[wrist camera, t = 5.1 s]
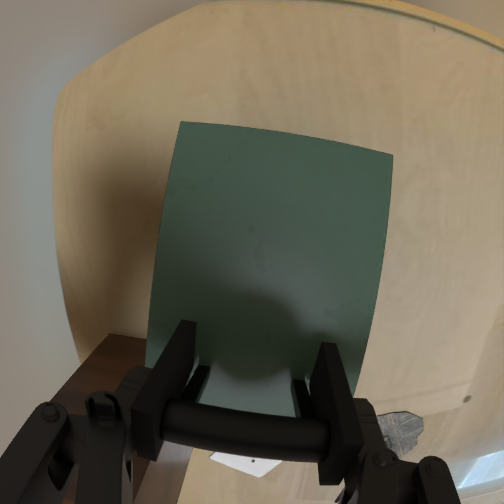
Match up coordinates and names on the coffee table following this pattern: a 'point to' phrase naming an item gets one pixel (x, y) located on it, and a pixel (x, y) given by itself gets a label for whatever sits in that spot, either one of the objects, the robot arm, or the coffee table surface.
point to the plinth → (108, 379)
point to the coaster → (246, 463)
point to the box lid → (265, 281)
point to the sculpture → (400, 431)
